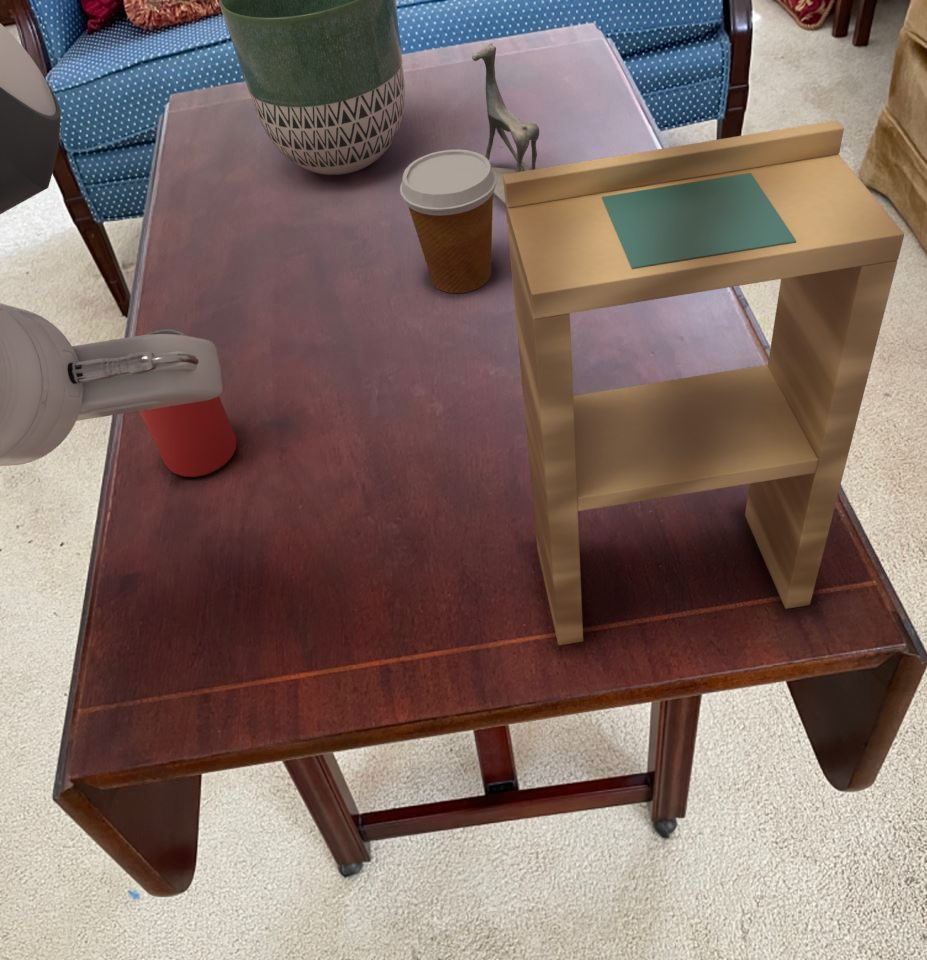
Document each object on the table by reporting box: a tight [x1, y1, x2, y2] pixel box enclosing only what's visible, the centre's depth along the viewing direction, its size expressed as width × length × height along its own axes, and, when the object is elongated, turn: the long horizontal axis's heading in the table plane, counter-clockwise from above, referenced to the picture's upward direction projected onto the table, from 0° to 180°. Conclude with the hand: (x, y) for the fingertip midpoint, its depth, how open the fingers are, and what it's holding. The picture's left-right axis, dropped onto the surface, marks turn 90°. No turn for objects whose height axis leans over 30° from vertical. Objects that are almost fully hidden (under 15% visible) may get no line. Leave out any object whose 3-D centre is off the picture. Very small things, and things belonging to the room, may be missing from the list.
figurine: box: [471, 43, 540, 207], centre depth 106 cm, size 11×6×15 cm, turn 15°
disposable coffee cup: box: [399, 149, 497, 294], centre depth 95 cm, size 10×10×12 cm
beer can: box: [138, 329, 237, 478], centre depth 80 cm, size 7×7×12 cm
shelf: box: [503, 120, 905, 646], centre depth 58 cm, size 18×9×32 cm, turn 96°
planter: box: [218, 0, 406, 176], centre depth 112 cm, size 20×20×21 cm
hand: (103, 397), depth 65 cm, fingers open, 8 cm apart
